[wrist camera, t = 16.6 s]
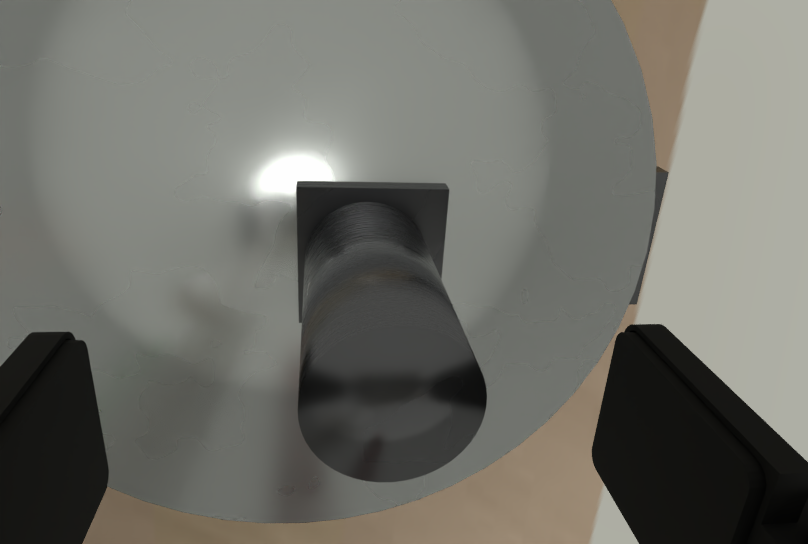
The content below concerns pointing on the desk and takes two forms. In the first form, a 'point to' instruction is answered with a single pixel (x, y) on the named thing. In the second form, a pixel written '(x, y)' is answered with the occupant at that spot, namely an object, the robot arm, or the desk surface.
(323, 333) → the cylinder
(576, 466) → the desk surface
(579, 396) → the desk surface
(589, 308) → the lid
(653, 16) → the desk surface
